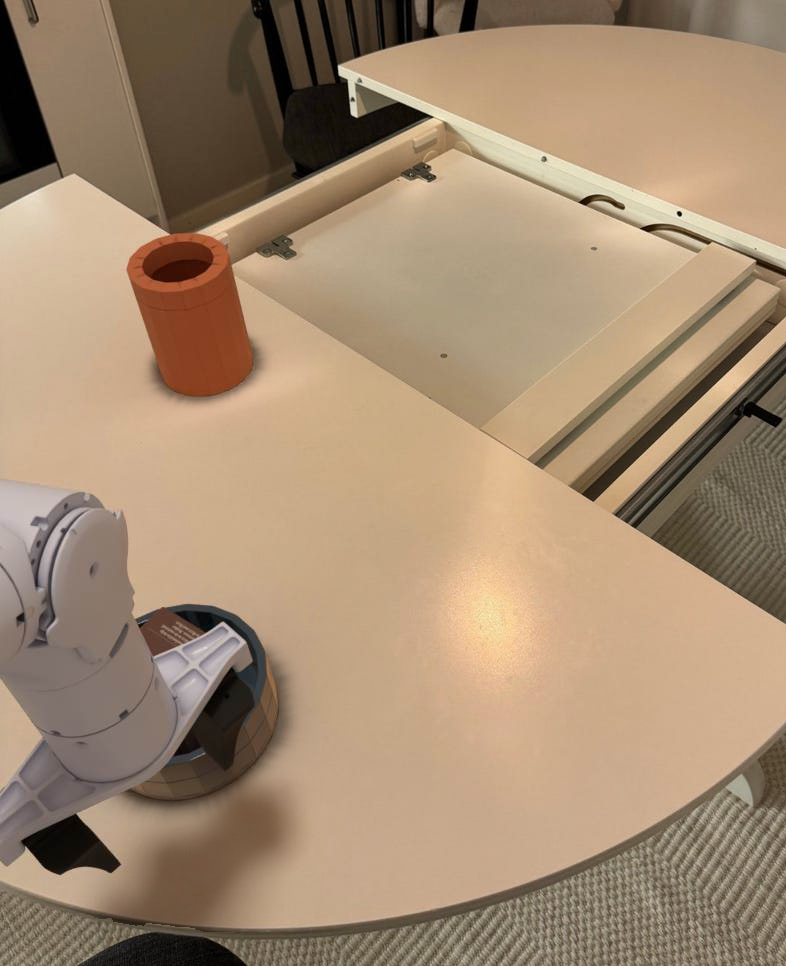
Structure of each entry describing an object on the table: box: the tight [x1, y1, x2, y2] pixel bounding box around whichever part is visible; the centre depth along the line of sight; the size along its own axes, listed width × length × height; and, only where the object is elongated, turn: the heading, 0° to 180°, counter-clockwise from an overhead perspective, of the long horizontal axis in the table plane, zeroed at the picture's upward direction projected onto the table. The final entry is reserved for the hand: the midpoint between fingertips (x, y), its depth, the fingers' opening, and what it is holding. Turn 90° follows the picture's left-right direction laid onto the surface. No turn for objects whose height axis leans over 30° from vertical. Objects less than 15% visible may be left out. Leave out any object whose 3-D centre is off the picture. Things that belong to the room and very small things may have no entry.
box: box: [140, 606, 238, 756], centre depth 64 cm, size 6×6×7 cm
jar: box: [126, 232, 254, 397], centre depth 88 cm, size 9×9×12 cm
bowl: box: [129, 603, 279, 801], centre depth 66 cm, size 12×12×5 cm
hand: (164, 805), depth 53 cm, fingers open, 7 cm apart
